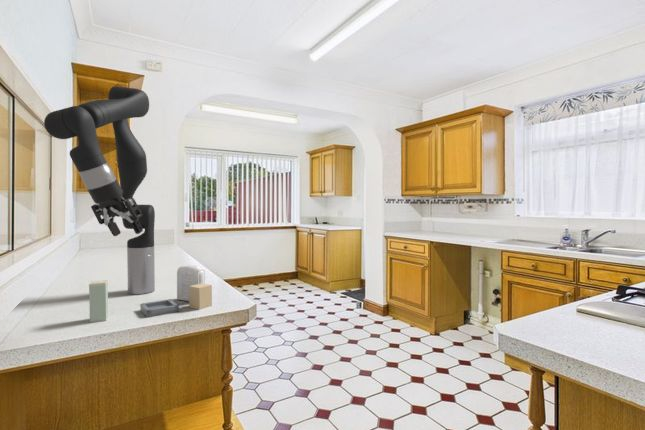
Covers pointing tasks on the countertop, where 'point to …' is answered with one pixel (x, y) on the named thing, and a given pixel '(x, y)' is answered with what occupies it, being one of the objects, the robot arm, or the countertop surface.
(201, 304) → the kraft box
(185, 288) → the photo printer
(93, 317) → the tea tin
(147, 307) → the slate tray
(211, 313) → the countertop surface
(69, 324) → the countertop surface
